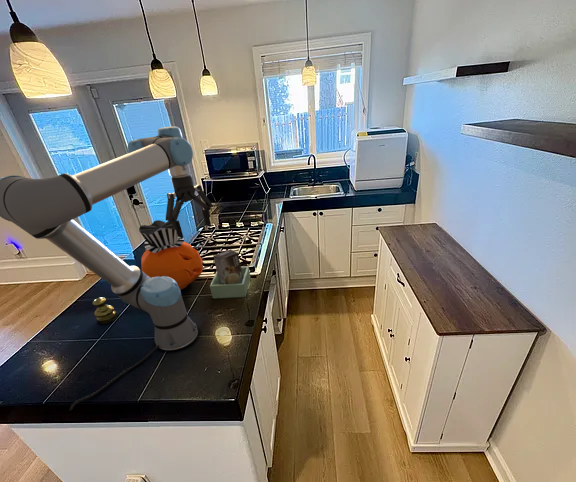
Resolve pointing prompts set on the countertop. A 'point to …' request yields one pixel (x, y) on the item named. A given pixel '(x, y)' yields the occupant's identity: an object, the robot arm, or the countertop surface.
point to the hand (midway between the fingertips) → (195, 231)
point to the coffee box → (228, 267)
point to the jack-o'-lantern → (169, 254)
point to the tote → (231, 286)
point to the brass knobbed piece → (104, 311)
